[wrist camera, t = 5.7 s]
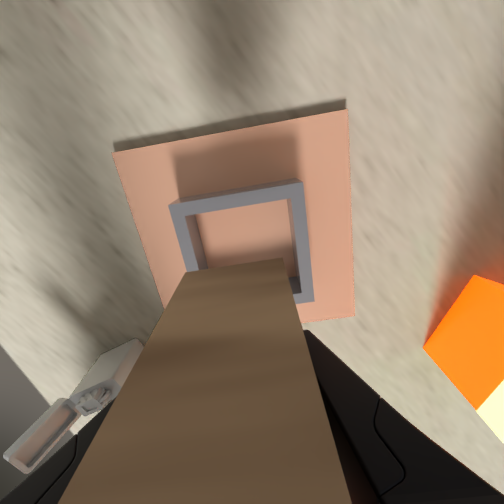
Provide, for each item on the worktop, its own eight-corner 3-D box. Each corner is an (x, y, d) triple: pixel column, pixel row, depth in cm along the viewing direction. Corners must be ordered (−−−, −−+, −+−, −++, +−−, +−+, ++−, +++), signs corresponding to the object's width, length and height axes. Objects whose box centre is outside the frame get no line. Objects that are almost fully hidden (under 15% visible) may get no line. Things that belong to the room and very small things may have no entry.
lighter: (136, 337, 23) (80, 428, 15) (148, 351, 23) (99, 446, 16) (73, 367, 24) (-8, 465, 17) (86, 380, 25) (13, 481, 17)
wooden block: (293, 338, 12) (390, 778, 4) (207, 349, 12) (108, 789, 4) (282, 257, 11) (398, 673, 2) (185, 272, 11) (-50, 698, 2)
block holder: (352, 312, 22) (367, 336, 19) (176, 336, 23) (165, 362, 20) (345, 110, 16) (364, 101, 14) (115, 152, 17) (89, 153, 15)
